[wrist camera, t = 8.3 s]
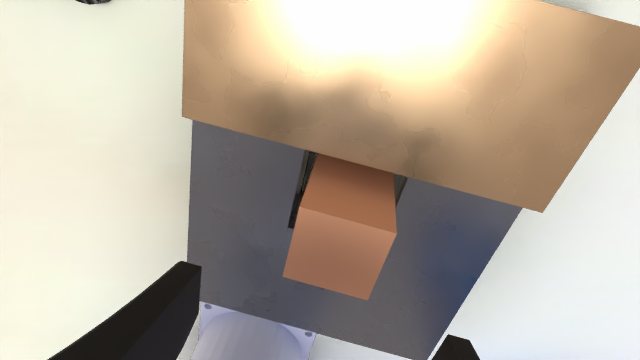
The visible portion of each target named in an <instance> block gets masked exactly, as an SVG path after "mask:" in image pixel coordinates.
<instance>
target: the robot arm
mask: <svg viewBox="0 0 640 360" xmlns="http://www.w3.org/2000/svg"><path fill="white" fill-rule="evenodd" d="M201 271H202V266H198V265H195V264H191V263H187V262H184V261H180V262H178V263H177V264H175V265H174V266H173V267H172V268H171V269H170V270H168V271H167V272H166V273H165V274H164V275H162V276H161V277H160V278H159V279H158V280H157V281H155V282H154V283H153V284H152V285H150V286H149V287H148V288H147V289H145V290H144V291H143V292H142V293H141V294H139V295H138V296H137V297H135V298H134V299H133V300H132V301H130V302H129V303H128V304H126V305H125V306H124V307H122V308H121V309H120V310H118V311H117V312H116V313H115V314H113V315H112V316H111V317H109V318H108V319H106V320H105V321H104V322H102V323H101V324H99V325H98V326H97V327H95V328H94V329H92V330H91V331H89V332H88V333H87V334H85V335H84V336H82V337H81V338H79V339H78V340H77V341H75V342H74V343H72V344H71V345H69V346H68V347H66V348H65V349H63V350H62V351H60V352H59V353H57V354H55V355H54V356H52V357H51V358H49V359H48V360H176V359H177V357H178V355H179V353H180V352H181V350H182V348H183V346H184V344H185V342H186V340H187V338H188V335H189V333H190V331H191V329H192V327H193V324H194V322H195V320H196V318H197V315H198V312H199V299H200V285H201ZM315 336H316V333H314V332H311V331H307V330H303V329H300V328H296V327H292V326H289V325H285V324H281V323H278V322H274V321H271V320H267V319H263V318H260V317H256V316H252V315H249V314H245V313H241V312H238V311H234V310H230V309H227V308H223V307H220V306H216V305H212V304H209V303H205V302H201V314H200V328H199V342H198V344H197V346H196V348H195V350H194V352H193V354H192V357H191V359H190V360H308V357H309V354H310V351H311V348H312V345H313V342H314V339H315ZM432 360H480V359H479V357H478V355H477V353H476V351H475V350H474V348H473V346H472V344H471V342H470V341H469V340H467V339H463V338H460V337H456V336H452V335H449V334H448V335H447V337H446V338H445V340H444V341H443V343H442V345H441V346H440V348H439V349H438V351H437V352H436V354H435V355H434V357H433V359H432Z"/></svg>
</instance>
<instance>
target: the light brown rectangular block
mask: <svg viewBox="0 0 640 360" xmlns="http://www.w3.org/2000/svg"><path fill="white" fill-rule="evenodd" d="M396 234H397V228H396V211H395V193H394V176H393V173H391V172H388V171H384V170H380V169H376V168H373V167H369V166H365V165H361V164H358V163H354V162H350V161H346V160H343V159H339V158H335V157H331V156H328V155H324V154H320V153H318V155H317V158H316V161H315V164H314V167H313V170H312V172H311V175H310V178H309V181H308V184H307V187H306V190H305V192H304V195H303V198H302V201H301V204H300V207H299V211H298V215H297V219H296V223H295V227H294V231H293V235H292V240H291V244H290V248H289V252H288V256H287V260H286V264H285V268H284V272H283V277H285V278H289V279H292V280H296V281H300V282H303V283H307V284H310V285H314V286H318V287H321V288H325V289H328V290H332V291H335V292H339V293H343V294H346V295H350V296H353V297H357V298H361V299H364V300H368V299H369V296H370V294H371V292H372V289H373V287H374V285H375V283H376V280H377V278H378V276H379V273H380V271H381V269H382V266H383V264H384V262H385V260H386V257H387V255H388V253H389V250H390V248H391V246H392V244H393V241H394V239H395V237H396Z"/></svg>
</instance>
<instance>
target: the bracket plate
mask: <svg viewBox="0 0 640 360" xmlns="http://www.w3.org/2000/svg"><path fill="white" fill-rule="evenodd" d="M639 68H640V27H639V26H636V25H632V24H628V23H624V22H620V21H616V20H612V19H608V18H604V17H601V16H597V15H593V14H589V13H585V12H581V11H577V10H573V9H569V8H566V7H562V6H558V5H554V4H550V3H546V2H542V1H538V0H185V6H184V50H183V95H182V117H185V118H189V119H192V120H193V125H192V150H191V176H190V202H189V227H188V253H187V263H191V264H195V265H198V266H202V271H201V285H200V299H199V301H201V302H205V303H209V304H212V305H216V306H220V307H223V308H227V309H230V310H234V311H238V312H241V313H245V314H249V315H252V316H256V317H260V318H263V319H267V320H271V321H274V322H278V323H281V324H285V325H289V326H292V327H296V328H300V329H303V330H307V331H311V332H314V333H318V334H322V335H325V336H329V337H332V338H336V339H340V340H343V341H347V342H351V343H354V344H358V345H362V346H365V347H369V348H372V349H376V350H380V351H383V352H387V353H391V354H394V355H398V356H402V357H405V358H409V359H413V360H427V359H428V357H429V356H430V354H431V353H432V351H433V350H434V348H435V346H436V345H437V343H438V342H439V340H440V338H441V337H442V335H443V334H444V332H445V330H446V329H447V327H448V326H449V324H450V323H451V321H452V319H453V318H454V316H455V315H456V313H457V311H458V310H459V308H460V307H461V305H462V303H463V302H464V300H465V299H466V297H467V295H468V294H469V292H470V291H471V289H472V288H473V286H474V284H475V283H476V281H477V280H478V278H479V276H480V275H481V273H482V272H483V270H484V268H485V267H486V265H487V264H488V262H489V260H490V259H491V257H492V256H493V254H494V253H495V251H496V249H497V248H498V246H499V245H500V243H501V241H502V240H503V238H504V237H505V235H506V233H507V232H508V230H509V229H510V227H511V225H512V224H513V222H514V221H515V219H516V218H517V216H518V214H519V213H520V211H521V210H522V208H526V209H530V210H534V211H538V212H541V213H543V211H544V210H545V208H546V207H547V205H548V204H549V202H550V201H551V199H552V198H553V196H554V195H555V193H556V192H557V190H558V189H559V187H560V186H561V184H562V183H563V181H564V180H565V178H566V177H567V175H568V174H569V172H570V171H571V170H572V168H573V167H574V165H575V164H576V162H577V161H578V159H579V158H580V156H581V155H582V153H583V152H584V150H585V149H586V147H587V146H588V144H589V143H590V141H591V140H592V138H593V137H594V135H595V134H596V132H597V131H598V129H599V128H600V126H601V125H602V123H603V122H604V120H605V119H606V117H607V116H608V114H609V113H610V111H611V110H612V108H613V107H614V105H615V104H616V102H617V101H618V99H619V98H620V96H621V95H622V93H623V92H624V90H625V89H626V87H627V86H628V84H629V83H630V81H631V80H632V78H633V77H634V75H635V74H636V72H637V71H638V69H639ZM310 151H313V152H316V153H320V154H324V155H328V156H331V157H335V158H339V159H343V160H346V161H350V162H354V163H358V164H361V165H365V166H369V167H373V168H376V169H380V170H384V171H388V172H391V173H394V193H395V211H396V228H397V234H396V237H395V239H394V241H393V244H392V246H391V248H390V250H389V253H388V255H387V257H386V260H385V262H384V264H383V266H382V269H381V271H380V273H379V276H378V278H377V280H376V283H375V285H374V287H373V289H372V292H371V294H370V296H369V299H368V300H364V299H361V298H357V297H353V296H350V295H346V294H343V293H339V292H335V291H332V290H328V289H325V288H321V287H318V286H314V285H310V284H307V283H303V282H300V281H296V280H292V279H289V278H285V277H283V272H284V268H285V264H286V260H287V256H288V252H289V248H290V244H291V240H292V235H293V231H294V227H295V223H296V219H297V215H298V211H299V207H300V204H301V201H302V198H303V195H301V194H300V191H301V187H302V183H303V178H304V174H305V169H306V165H307V161H308V156H309V152H310Z"/></svg>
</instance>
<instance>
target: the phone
mask: <svg viewBox="0 0 640 360" xmlns="http://www.w3.org/2000/svg"><path fill="white" fill-rule="evenodd" d="M76 1H79V2H81V3H85V4H99V3H106V2H109V1H111V0H76Z"/></svg>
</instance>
